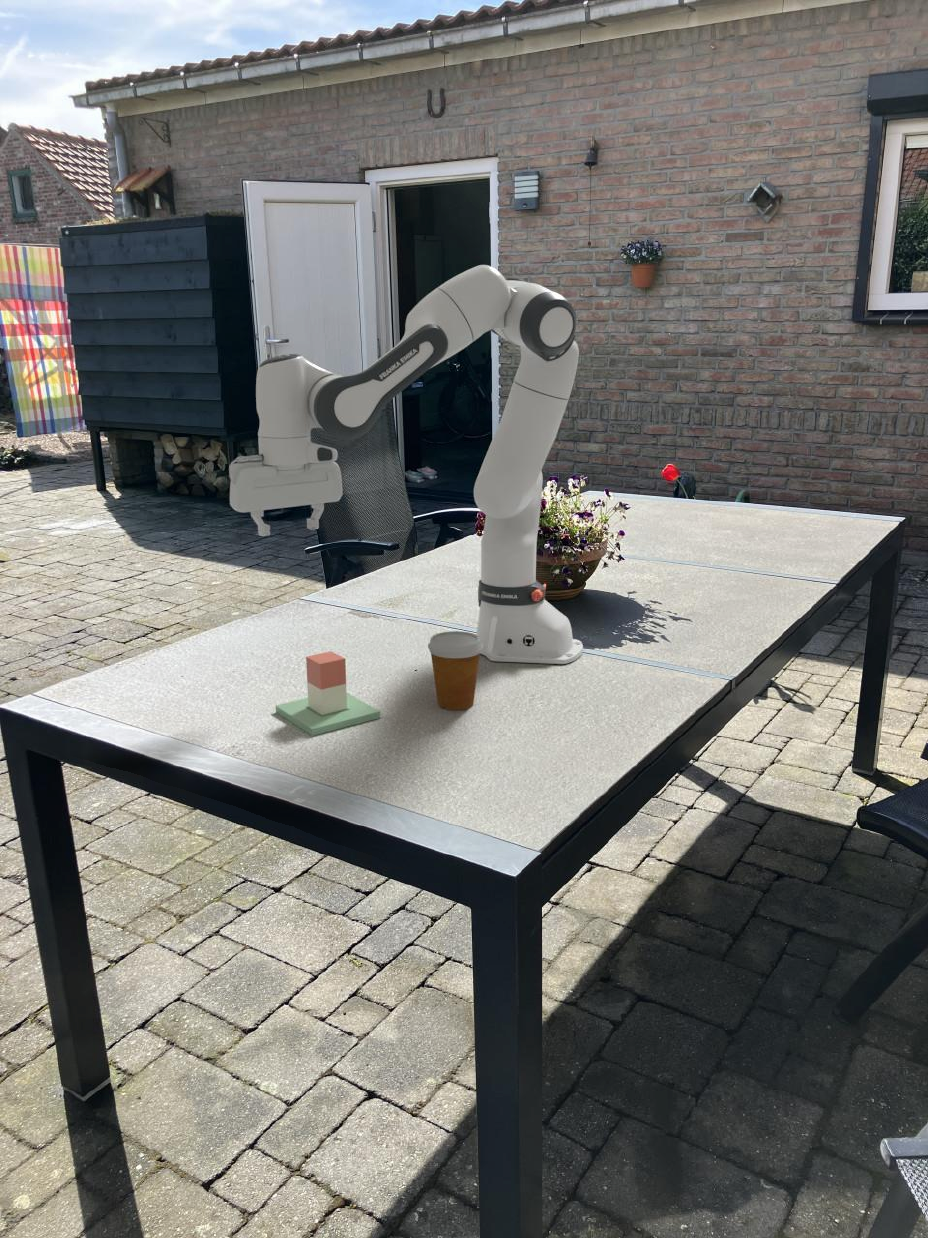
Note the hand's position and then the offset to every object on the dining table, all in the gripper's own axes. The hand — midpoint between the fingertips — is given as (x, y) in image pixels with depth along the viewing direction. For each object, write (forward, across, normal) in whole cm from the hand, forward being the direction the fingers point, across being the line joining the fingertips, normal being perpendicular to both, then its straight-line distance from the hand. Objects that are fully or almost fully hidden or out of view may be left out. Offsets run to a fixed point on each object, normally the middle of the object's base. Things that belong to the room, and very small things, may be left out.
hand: (289, 532), depth 179 cm
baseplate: (+29, -2, -15) cm, 33 cm away
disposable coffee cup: (+29, +19, -23) cm, 42 cm away
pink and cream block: (+28, -2, -15) cm, 31 cm away
